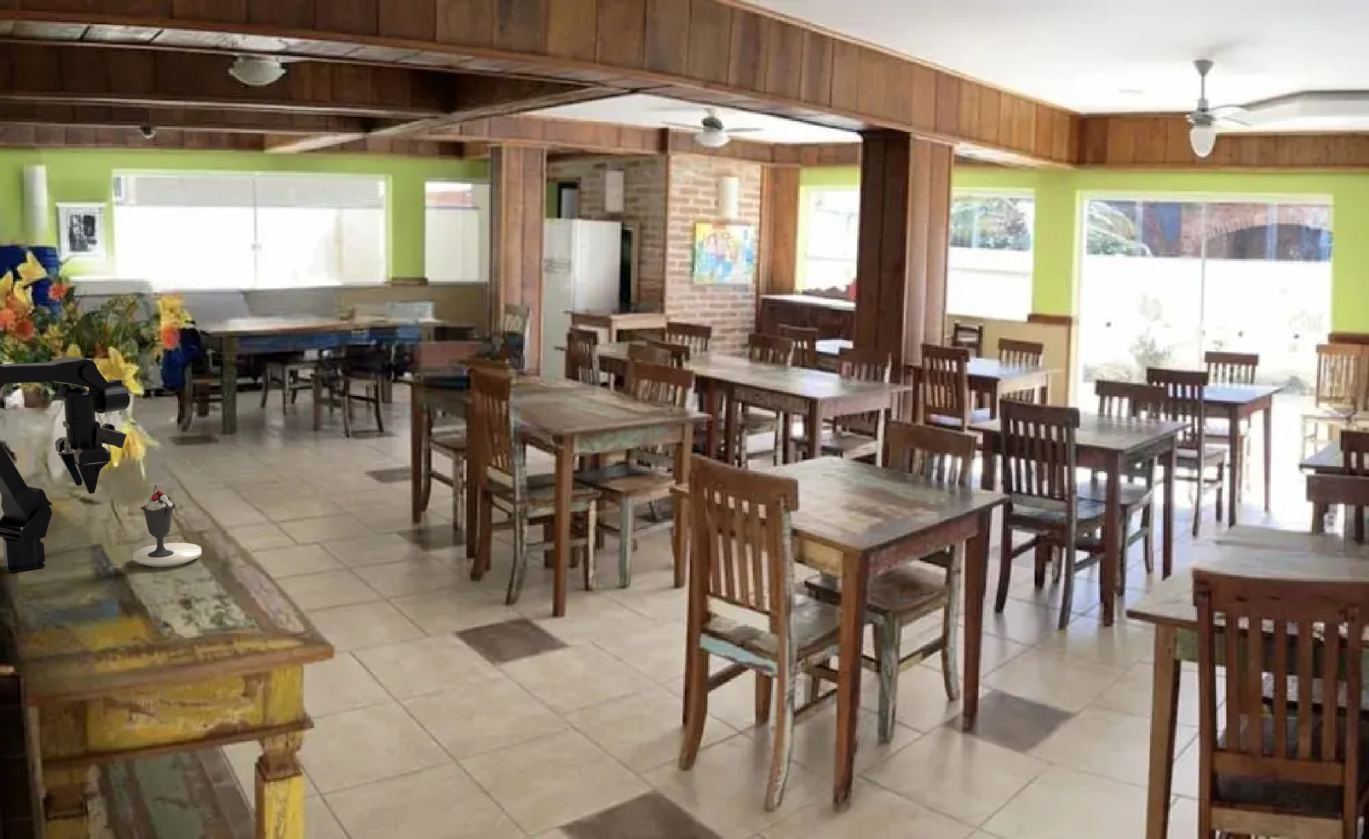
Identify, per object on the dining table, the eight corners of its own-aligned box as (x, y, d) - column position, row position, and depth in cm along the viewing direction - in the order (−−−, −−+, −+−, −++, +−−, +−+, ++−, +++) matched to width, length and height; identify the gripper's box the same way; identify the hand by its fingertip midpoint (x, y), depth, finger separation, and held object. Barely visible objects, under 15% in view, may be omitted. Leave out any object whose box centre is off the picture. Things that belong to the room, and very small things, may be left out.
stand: (145, 573, 239) (145, 564, 239) (125, 559, 249) (124, 549, 248) (211, 562, 247) (210, 553, 247) (188, 548, 257) (188, 539, 257)
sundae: (153, 560, 241) (149, 488, 238) (137, 554, 245) (132, 483, 243) (184, 554, 246) (180, 482, 243) (168, 547, 250) (164, 477, 248)
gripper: (135, 419, 249) (139, 492, 252) (107, 407, 263) (112, 476, 265) (77, 424, 242) (82, 499, 244) (52, 412, 255) (57, 483, 258)
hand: (85, 489), depth 253 cm, fingers open, 9 cm apart
